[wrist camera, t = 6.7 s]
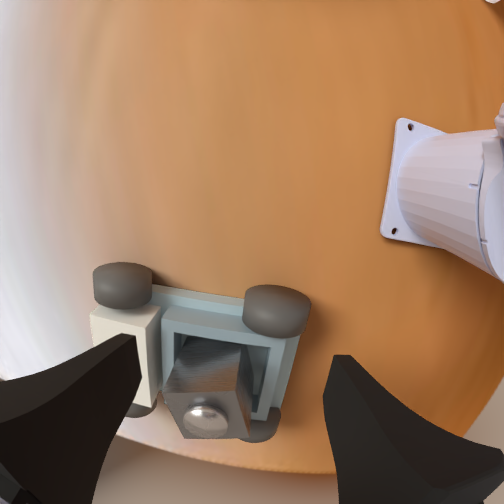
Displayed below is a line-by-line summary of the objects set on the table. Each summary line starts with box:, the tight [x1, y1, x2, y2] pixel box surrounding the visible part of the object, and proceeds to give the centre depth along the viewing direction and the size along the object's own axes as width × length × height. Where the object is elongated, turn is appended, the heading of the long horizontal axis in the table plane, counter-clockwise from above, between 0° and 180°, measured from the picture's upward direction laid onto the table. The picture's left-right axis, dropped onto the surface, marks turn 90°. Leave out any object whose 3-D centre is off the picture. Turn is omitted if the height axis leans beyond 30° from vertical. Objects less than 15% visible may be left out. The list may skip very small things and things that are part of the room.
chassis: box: [89, 262, 311, 443], centre depth 19 cm, size 14×12×4 cm
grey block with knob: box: [162, 336, 254, 439], centre depth 17 cm, size 4×4×7 cm
